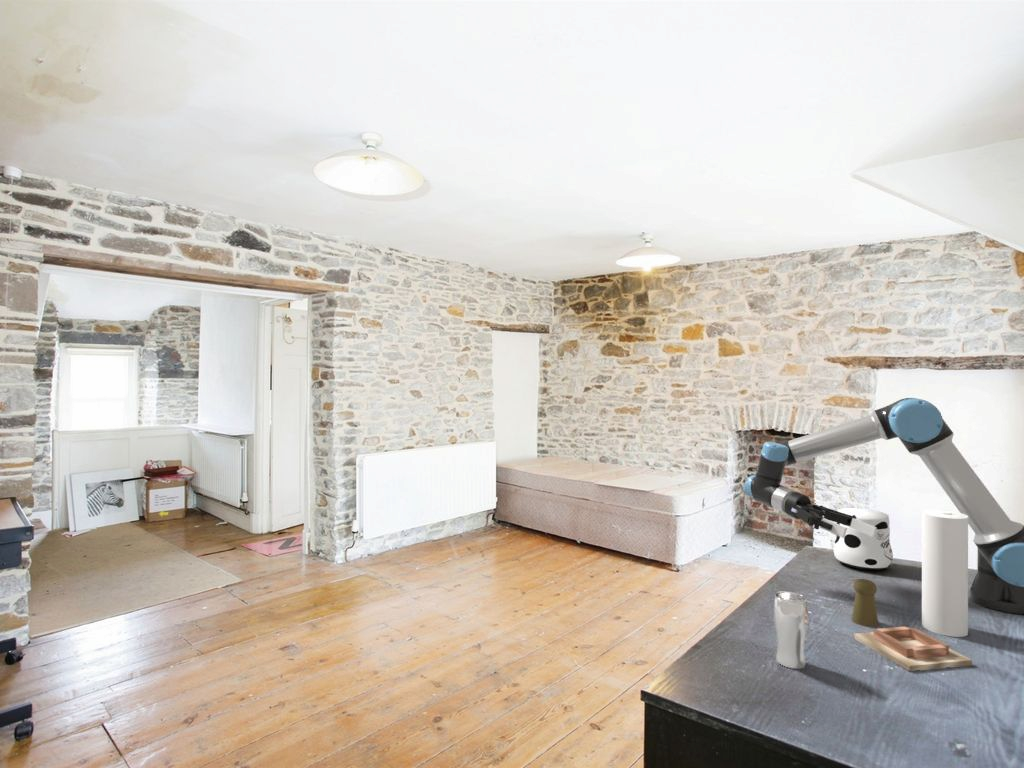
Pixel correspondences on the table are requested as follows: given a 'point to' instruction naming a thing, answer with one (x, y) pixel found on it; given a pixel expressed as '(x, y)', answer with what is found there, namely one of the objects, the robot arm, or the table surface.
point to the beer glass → (790, 628)
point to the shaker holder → (912, 648)
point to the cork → (865, 603)
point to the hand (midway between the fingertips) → (860, 532)
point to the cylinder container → (945, 572)
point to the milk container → (865, 542)
